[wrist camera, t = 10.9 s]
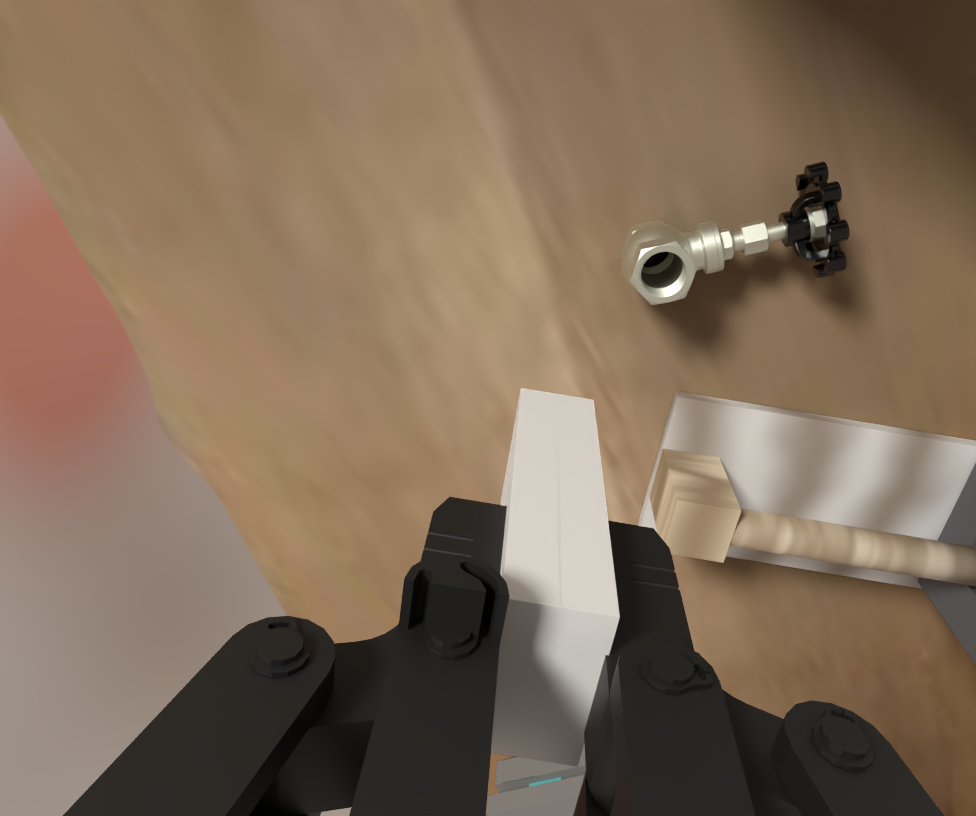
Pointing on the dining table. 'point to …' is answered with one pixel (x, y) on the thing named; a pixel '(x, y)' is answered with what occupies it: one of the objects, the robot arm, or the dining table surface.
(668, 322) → the dining table surface
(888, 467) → the rail
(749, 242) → the valve
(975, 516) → the collar
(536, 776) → the grey grooved block
